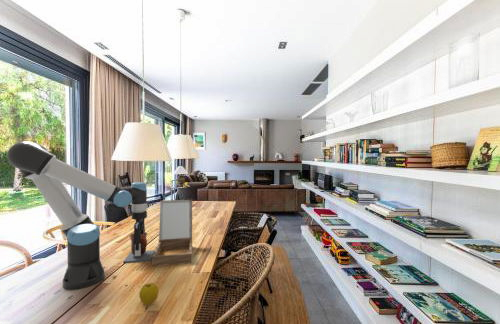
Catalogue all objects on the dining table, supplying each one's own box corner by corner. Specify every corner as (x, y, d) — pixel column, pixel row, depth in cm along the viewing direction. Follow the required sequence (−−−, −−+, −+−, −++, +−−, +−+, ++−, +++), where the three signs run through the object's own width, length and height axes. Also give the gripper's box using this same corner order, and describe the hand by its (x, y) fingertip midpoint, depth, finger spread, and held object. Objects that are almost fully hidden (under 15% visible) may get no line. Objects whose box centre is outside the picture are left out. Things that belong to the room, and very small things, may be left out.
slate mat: (150, 260, 127) (150, 259, 127) (123, 263, 124) (123, 261, 124) (154, 251, 139) (154, 250, 139) (130, 253, 137) (130, 252, 137)
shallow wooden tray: (191, 262, 124) (191, 251, 124) (152, 266, 120) (152, 255, 120) (192, 246, 147) (192, 237, 147) (159, 249, 143) (158, 239, 143)
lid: (192, 199, 154) (192, 199, 155) (160, 200, 150) (160, 201, 151) (192, 237, 147) (192, 237, 148) (158, 239, 143) (159, 240, 144)
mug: (126, 253, 131) (126, 235, 131) (142, 249, 138) (142, 231, 138) (137, 259, 124) (137, 239, 124) (153, 253, 131) (153, 234, 131)
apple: (135, 307, 87) (135, 285, 87) (148, 297, 93) (148, 277, 93) (149, 311, 85) (149, 288, 84) (162, 301, 90) (162, 279, 90)
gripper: (142, 215, 122) (143, 259, 122) (150, 206, 143) (150, 245, 143) (126, 215, 120) (126, 261, 120) (136, 207, 141) (137, 246, 141)
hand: (139, 252), depth 132 cm, fingers closed on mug, 9 cm apart
